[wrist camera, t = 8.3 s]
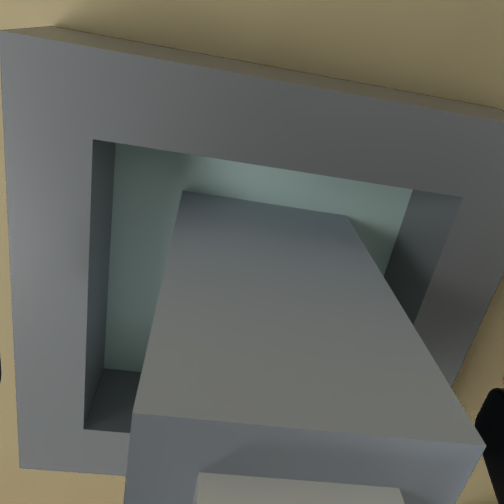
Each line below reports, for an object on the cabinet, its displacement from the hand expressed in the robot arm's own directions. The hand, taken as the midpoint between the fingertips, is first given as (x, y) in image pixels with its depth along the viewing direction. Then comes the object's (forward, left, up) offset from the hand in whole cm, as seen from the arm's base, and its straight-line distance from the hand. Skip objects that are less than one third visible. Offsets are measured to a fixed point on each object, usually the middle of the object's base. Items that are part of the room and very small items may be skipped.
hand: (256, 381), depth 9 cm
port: (0, 0, -4) cm, 5 cm away
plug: (0, 0, -4) cm, 4 cm away
